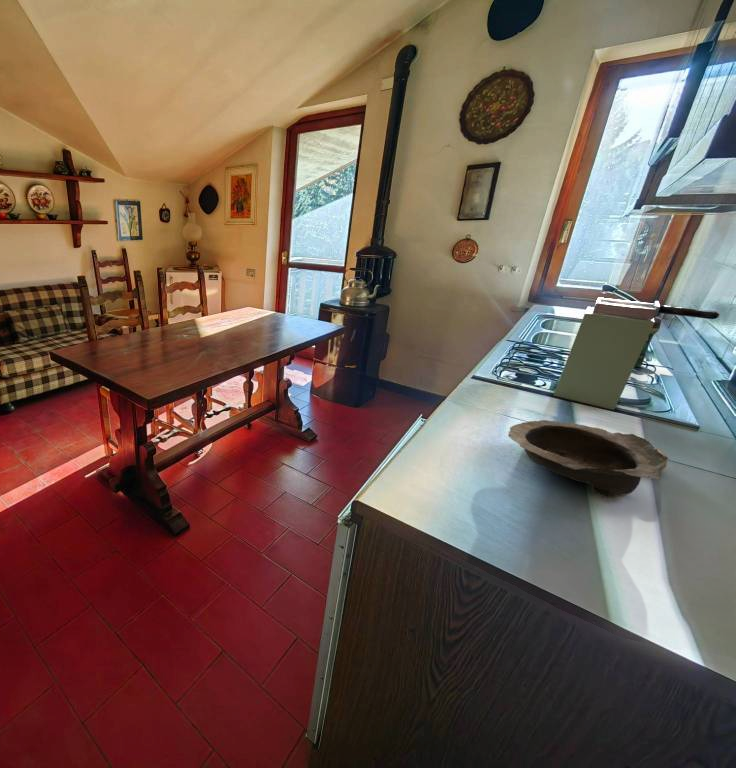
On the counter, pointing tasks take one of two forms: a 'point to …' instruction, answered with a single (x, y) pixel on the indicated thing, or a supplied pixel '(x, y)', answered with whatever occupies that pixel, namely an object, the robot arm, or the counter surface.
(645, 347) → the coffee jar
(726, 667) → the counter surface
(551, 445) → the stone bowl
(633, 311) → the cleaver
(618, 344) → the sage green block
